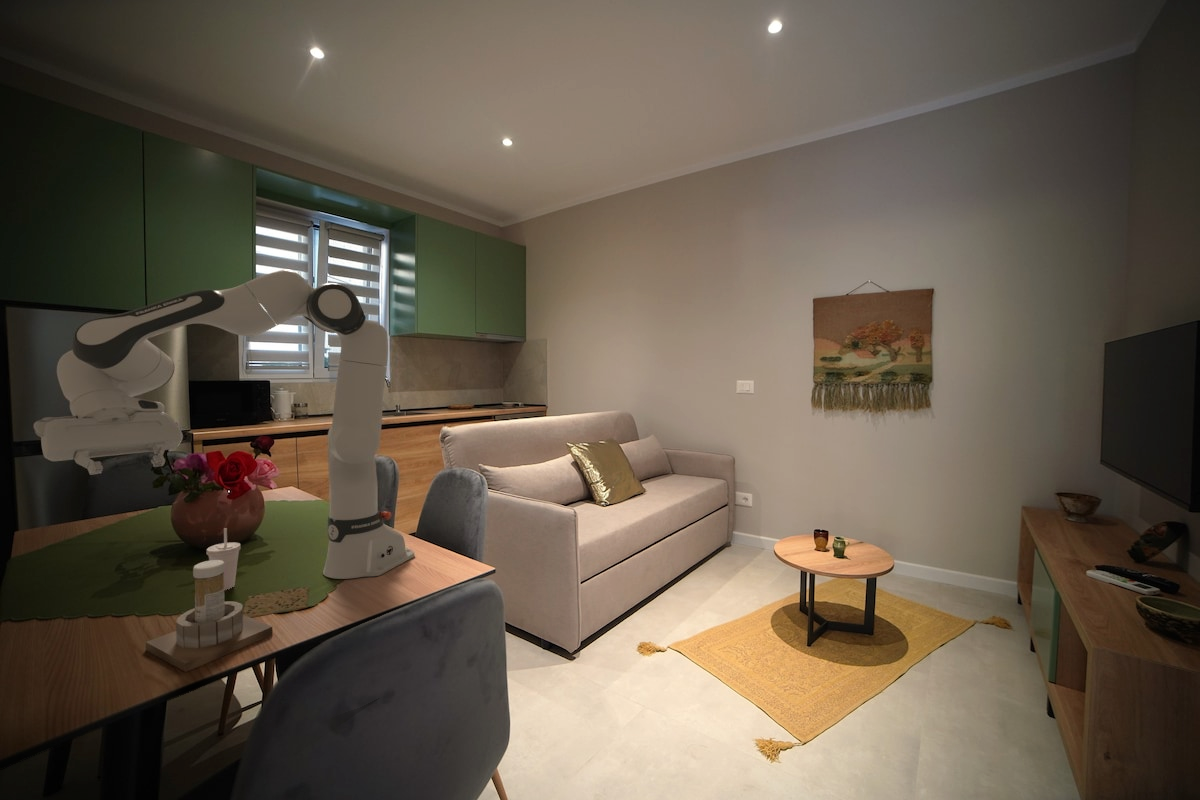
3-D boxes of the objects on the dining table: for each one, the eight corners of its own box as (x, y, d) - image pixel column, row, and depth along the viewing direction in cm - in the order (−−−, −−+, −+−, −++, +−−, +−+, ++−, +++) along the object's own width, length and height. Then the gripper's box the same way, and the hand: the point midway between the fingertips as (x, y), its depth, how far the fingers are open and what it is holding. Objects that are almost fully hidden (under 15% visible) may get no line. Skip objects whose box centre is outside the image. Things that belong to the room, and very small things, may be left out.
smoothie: (223, 594, 113) (221, 533, 112) (199, 591, 114) (198, 531, 114) (248, 583, 119) (247, 525, 119) (226, 580, 121) (224, 523, 120)
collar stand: (232, 617, 103) (231, 591, 103) (272, 634, 97) (272, 606, 96) (146, 650, 90) (145, 620, 90) (186, 672, 84) (185, 640, 84)
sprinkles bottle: (192, 635, 93) (190, 563, 92) (222, 625, 96) (220, 557, 96) (198, 643, 90) (196, 570, 89) (229, 633, 94) (227, 563, 93)
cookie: (239, 622, 102) (239, 617, 102) (247, 598, 112) (247, 594, 112) (307, 609, 108) (307, 605, 108) (309, 588, 118) (309, 584, 118)
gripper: (34, 407, 91) (57, 466, 87) (171, 402, 109) (196, 451, 105) (26, 430, 93) (48, 488, 89) (162, 421, 111) (185, 470, 107)
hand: (129, 468), depth 97 cm, fingers open, 8 cm apart
